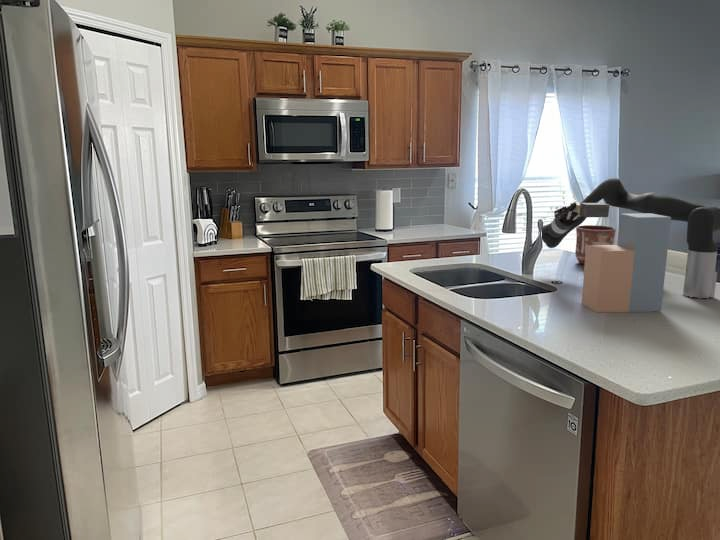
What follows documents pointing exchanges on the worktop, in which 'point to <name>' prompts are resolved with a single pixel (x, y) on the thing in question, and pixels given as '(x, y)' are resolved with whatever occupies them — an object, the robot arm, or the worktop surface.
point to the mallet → (592, 209)
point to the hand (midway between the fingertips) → (580, 204)
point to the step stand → (628, 266)
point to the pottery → (592, 238)
